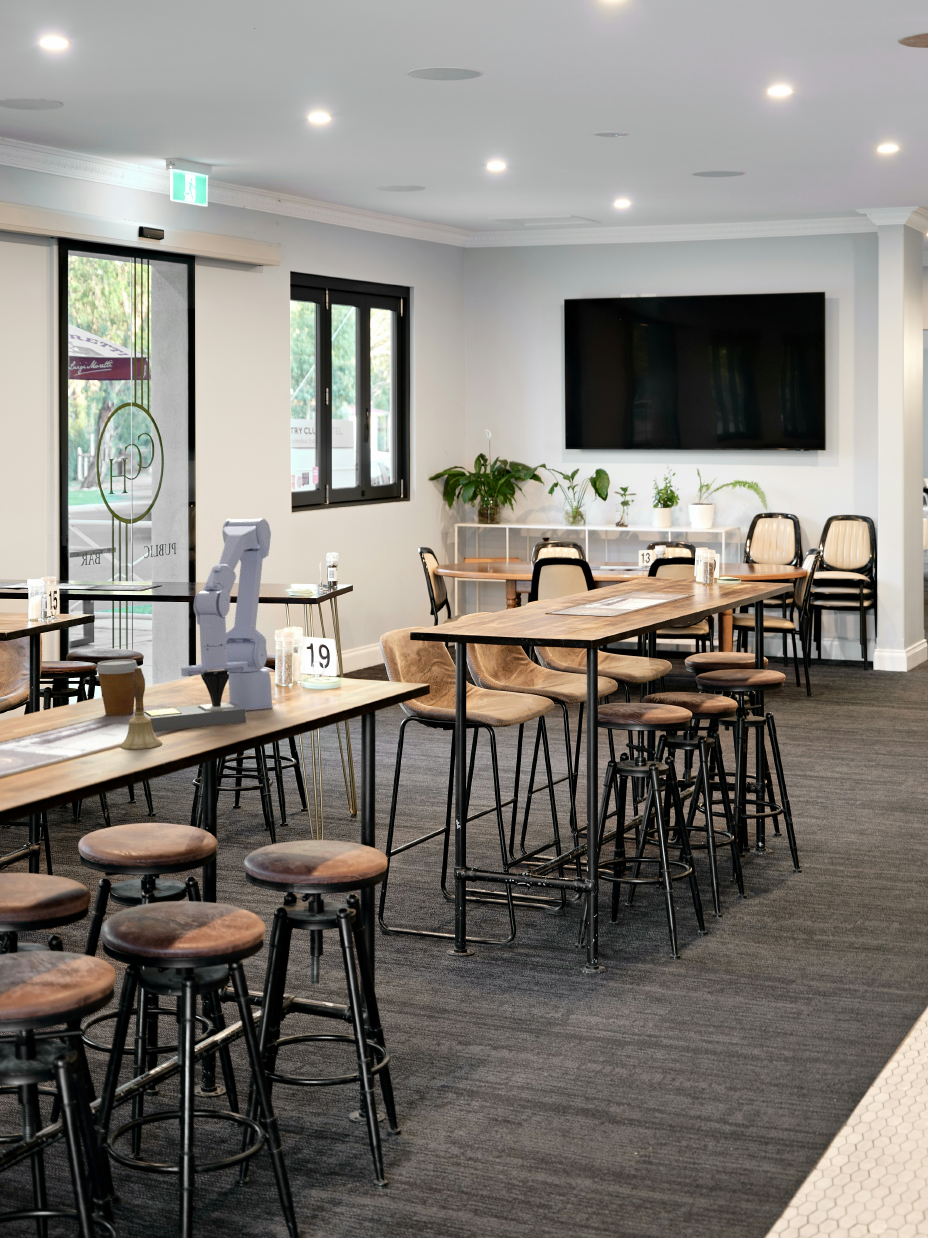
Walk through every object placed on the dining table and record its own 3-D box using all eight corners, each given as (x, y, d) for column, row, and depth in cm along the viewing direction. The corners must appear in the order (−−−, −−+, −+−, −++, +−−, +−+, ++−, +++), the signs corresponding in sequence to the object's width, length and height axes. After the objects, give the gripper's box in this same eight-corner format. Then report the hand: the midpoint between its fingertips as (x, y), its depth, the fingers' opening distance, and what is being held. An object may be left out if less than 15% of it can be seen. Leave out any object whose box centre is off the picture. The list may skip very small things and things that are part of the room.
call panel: (232, 714, 333) (231, 701, 333) (246, 722, 323) (245, 708, 323) (135, 724, 324) (134, 711, 324) (146, 732, 314) (145, 718, 314)
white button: (227, 715, 330) (226, 702, 330) (234, 719, 325) (234, 706, 324) (199, 718, 328) (198, 705, 327) (206, 722, 322) (206, 709, 322)
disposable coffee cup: (130, 717, 334) (127, 665, 332) (91, 717, 335) (88, 665, 334) (147, 710, 343) (144, 659, 341) (109, 709, 345) (106, 659, 343)
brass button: (174, 721, 325) (173, 708, 325) (181, 726, 320) (180, 712, 319) (145, 724, 323) (145, 711, 322) (152, 729, 317) (151, 715, 317)
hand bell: (123, 742, 304) (119, 666, 302) (164, 741, 305) (160, 664, 303) (117, 750, 296) (113, 672, 294) (159, 748, 297) (155, 670, 295)
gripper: (185, 649, 318) (188, 711, 319) (250, 644, 324) (253, 705, 325) (177, 646, 324) (180, 706, 326) (241, 640, 330) (244, 700, 332)
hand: (216, 705), depth 326 cm, fingers closed, pressing on white button
